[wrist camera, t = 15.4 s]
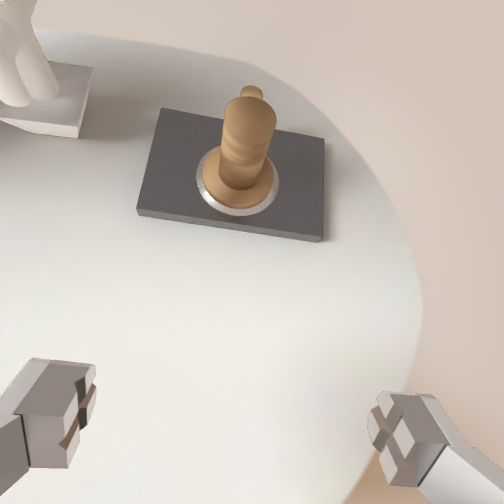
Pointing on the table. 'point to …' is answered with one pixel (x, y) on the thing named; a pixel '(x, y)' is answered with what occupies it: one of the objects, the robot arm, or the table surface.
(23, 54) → the figurine
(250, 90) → the dowel
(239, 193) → the flange hub
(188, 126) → the base plate
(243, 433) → the table surface
